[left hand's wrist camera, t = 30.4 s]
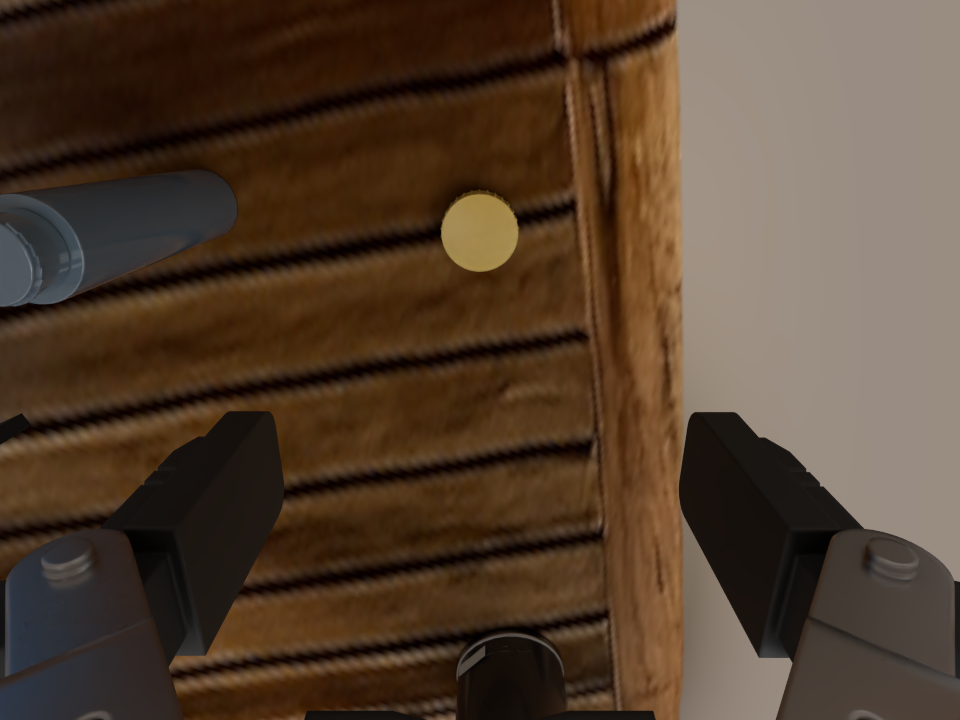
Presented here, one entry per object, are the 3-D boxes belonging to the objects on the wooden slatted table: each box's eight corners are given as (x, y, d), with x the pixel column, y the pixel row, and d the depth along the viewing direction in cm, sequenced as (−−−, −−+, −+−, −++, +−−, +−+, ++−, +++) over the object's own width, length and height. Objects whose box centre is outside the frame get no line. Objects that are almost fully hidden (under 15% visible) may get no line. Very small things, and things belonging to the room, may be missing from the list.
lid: (524, 197, 37) (527, 201, 34) (508, 271, 38) (510, 279, 36) (449, 181, 36) (447, 185, 34) (436, 257, 38) (434, 264, 36)
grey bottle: (210, 251, 38) (8, 343, 22) (155, 203, 37) (-103, 260, 20) (251, 205, 37) (70, 265, 20) (196, 153, 36) (-43, 172, 19)
